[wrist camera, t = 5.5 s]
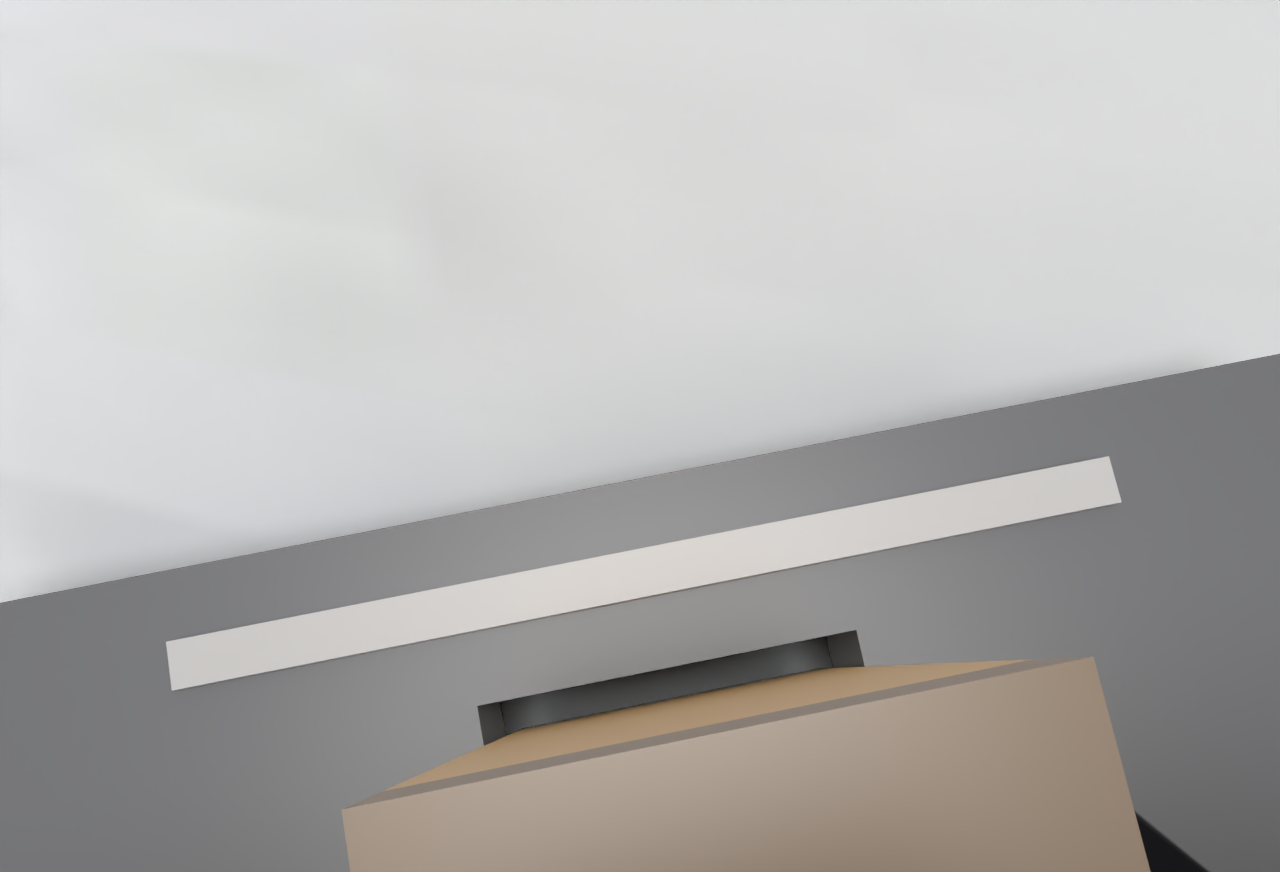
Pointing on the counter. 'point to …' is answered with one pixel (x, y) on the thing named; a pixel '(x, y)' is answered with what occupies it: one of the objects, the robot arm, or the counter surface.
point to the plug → (786, 782)
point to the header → (676, 624)
